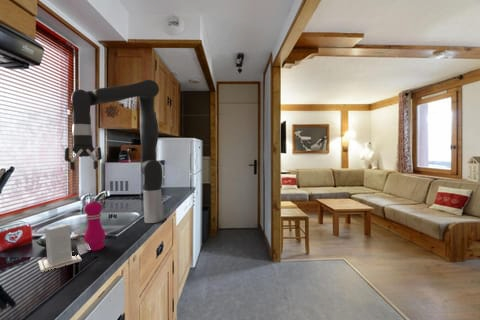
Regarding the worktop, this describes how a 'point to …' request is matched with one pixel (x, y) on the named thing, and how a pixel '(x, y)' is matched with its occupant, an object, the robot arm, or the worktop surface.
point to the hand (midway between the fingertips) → (84, 169)
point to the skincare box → (58, 243)
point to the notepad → (47, 266)
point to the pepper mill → (94, 226)
